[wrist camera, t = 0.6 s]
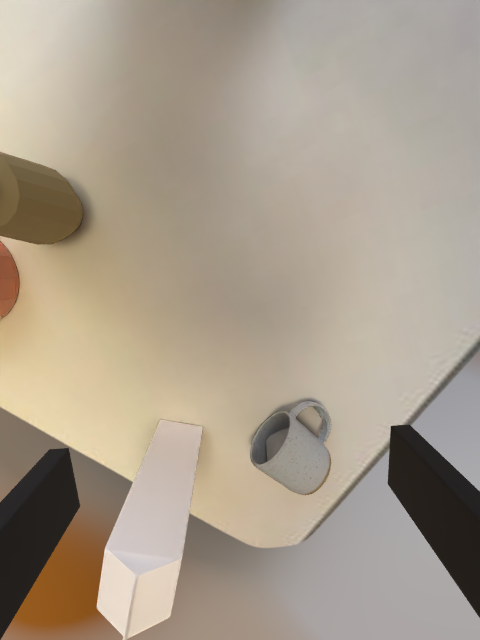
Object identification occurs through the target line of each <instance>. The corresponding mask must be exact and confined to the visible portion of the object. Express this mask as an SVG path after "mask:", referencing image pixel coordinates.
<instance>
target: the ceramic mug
mask: <svg viewBox="0 0 480 640" xmlns="http://www.w3.org/2000/svg"><path fill="white" fill-rule="evenodd" d="M311 406H313V407H314V408H315V409H316V410H317V411H318V413H319V414H320V417H321V418H323V427H322V431H321V433H320V435H319V436H318V438H317V437H316V436H315V435H313V434H312V433H311V432H310V431H309V430H308V429H307V428H306V427H305V426H304V425H302V424H301V423H300V422H299V421H298V420H297V419H296V417H297V415H298V414H299V413H300V412H301V411H302V410H304V409H305V408H307V407H311ZM330 430H331V420H330V416H329V414H328V412H327V411H326V409H325V408H324V407H323V406H322V405H320V404H318V403H315V402H311V401H306V402H302V403H300V404H298V405H297V406H296V407H295V408H293V409H292V410H291V412H290V413H289V412H287V411H279V412H277V413H275V414H273V415H272V416H270V417H269V418H268V419H267V420H266V421H265V422H264V423H263V424H262V425H261V427H260V428H259V429H258V431H257V433H256V435H255V437H254V439H253V442H252V445H251V450H250V458H251V461H252V463H253V465H254V466H255V467H256V468H258V469H259V470H261V471H262V472H264V473H265V474H267V475H268V476H270V477H271V478H273V479H274V480H276V481H277V482H279V483H281V484H282V485H283V486H285V487H286V488H288V489H289V490H291V491H293V492H295V493H298V494H301V495H309V494H312V493H314V492H316V491H317V490H318V489H319V488H320V487H321V486H322V485H323V484H324V482H325V481H326V479H327V477H328V475H329V471H330V466H331V458H330V454H329V451H328V450H327V448H326V447H325V445H324V443H325V441H326V440H327V438H328V436H329V434H330Z"/></svg>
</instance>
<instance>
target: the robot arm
mask: <svg viewBox="0 0 480 640" xmlns="http://www.w3.org/2000/svg"><path fill="white" fill-rule="evenodd" d="M388 485H389V486H390V488H391V489H392V490H393V492H394V493H395V495H396V496H397V498H398V499H399V501H400V502H401V504H402V505H403V507H404V508H405V510H406V511H407V513H408V514H409V515H410V517H411V518H412V520H413V521H414V523H415V524H416V526H417V527H418V529H419V530H420V531H421V533H422V534H423V536H424V537H425V539H426V540H427V542H428V543H429V544H430V546H431V547H432V549H433V550H434V552H435V553H436V555H437V556H438V558H439V559H440V561H441V562H442V563H443V565H444V566H445V568H446V569H447V570H448V572H449V574H450V575H451V577H452V578H453V579H454V581H455V582H456V584H457V585H458V586H459V588H460V590H461V591H462V593H463V594H464V596H465V597H466V598H467V600H468V601H469V603H470V604H471V606H472V607H473V609H474V610H475V612H476V613H477V615H478V616H479V617H480V491H478V490H477V489H476V488H475V487H474V486H473V485H472V484H471V483H470V482H469V481H468V480H467V479H466V478H465V477H464V476H463V475H462V474H460V472H459V471H457V470H456V469H455V468H454V467H453V466H452V465H451V464H450V463H449V462H448V461H447V460H446V459H445V458H444V457H442V455H441V454H440V453H439V452H438V451H436V450H435V449H434V448H433V447H432V446H431V445H430V444H429V443H428V442H427V441H426V440H425V439H424V438H423V437H422V436H421V435H419V433H418V432H416V431H415V430H414V429H413V428H412V427H411V426H410V425H398V426H391V434H390V455H389V472H388ZM79 507H80V503H79V499H78V493H77V488H76V483H75V478H74V473H73V468H72V463H71V458H70V453H69V449H68V448H64V449H50V450H49V451H48V452H47V453H46V454H45V455H44V456H43V457H42V458H41V459H40V460H39V461H38V462H37V463H36V465H35V466H34V467H33V468H32V469H31V470H30V471H29V472H28V473H27V474H26V476H25V477H24V478H23V479H22V480H21V481H20V482H19V483H18V484H17V485H16V486H15V487H14V488H13V489H12V490H11V492H10V493H9V494H8V495H7V496H6V497H5V498H4V499H3V500H2V501H1V502H0V639H1V638H2V636H3V634H4V633H5V631H6V629H7V628H8V626H9V624H10V623H11V621H12V619H13V618H14V616H15V614H16V613H17V611H18V609H19V608H20V606H21V604H22V603H23V601H24V599H25V598H26V596H27V594H28V593H29V591H30V589H31V588H32V586H33V584H34V582H35V581H36V579H37V578H38V576H39V574H40V573H41V571H42V569H43V567H44V566H45V564H46V562H47V561H48V559H49V557H50V556H51V554H52V552H53V551H54V549H55V547H56V546H57V544H58V542H59V541H60V539H61V537H62V536H63V534H64V532H65V531H66V529H67V527H68V526H69V524H70V522H71V521H72V519H73V517H74V515H75V514H76V512H77V510H78V509H79Z"/></svg>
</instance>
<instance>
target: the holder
mask: <svg viewBox="0 0 480 640" xmlns="http://www.w3.org/2000/svg"><path fill="white" fill-rule="evenodd" d="M18 290H19V276H18V271H17V267H16V265H15V262H14V260H13V258H12V256H11V254H10V253H9V251H8V250H7V248H6V247H5V246H4V245H3V244H2V243H1V242H0V319H2V318H3V317H4V316H5V315H6V314H7V313H8V312H9V311H10V310H11V308H12V307H13V305H14V303H15V301H16V299H17V295H18Z"/></svg>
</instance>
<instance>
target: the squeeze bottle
mask: <svg viewBox="0 0 480 640" xmlns="http://www.w3.org/2000/svg"><path fill="white" fill-rule="evenodd" d="M82 216H83V211H82V204H81V202H80V200H79V199H78V197H77V195H76V193H75V192H74V190H73V188H72V187H71V185H70V184H69V182H68V181H67V180H66V179H65V178H64V177H63V176H61V175H60V174H59V173H58V172H57V171H56V170H53V169H51V168H48V167H46V166H43V165H40V164H37V163H34V162H31V161H27V160H24V159H21V158H18V157H14V156H11V155H8V154H5V153H1V152H0V236H3V237H8V238H12V239H16V240H21V241H25V242H30V243H34V244H54V243H56V242H58V241H60V240H62V239H64V238H66V237H67V236H69V235H70V234H72V233H73V232H75V230H76V229H77V228H78V227H79V225H80V224H81V220H82Z"/></svg>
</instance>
